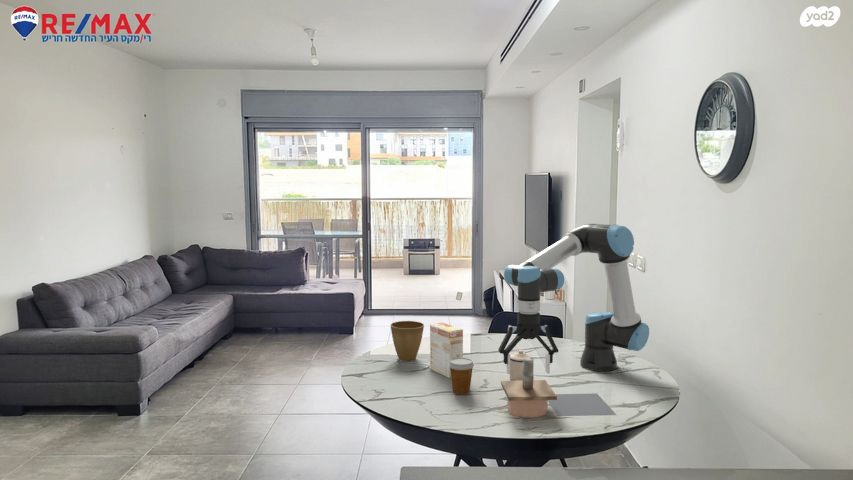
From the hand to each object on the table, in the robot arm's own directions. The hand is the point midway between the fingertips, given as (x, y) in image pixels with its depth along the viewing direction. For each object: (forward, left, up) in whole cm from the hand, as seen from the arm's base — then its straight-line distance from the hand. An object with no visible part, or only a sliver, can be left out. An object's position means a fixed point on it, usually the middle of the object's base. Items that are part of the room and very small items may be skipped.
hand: (527, 372), depth 201 cm
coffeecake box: (+25, -43, -14) cm, 52 cm away
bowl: (0, 0, -14) cm, 14 cm away
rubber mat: (-19, -4, -14) cm, 24 cm away
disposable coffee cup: (+21, -20, -14) cm, 32 cm away
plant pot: (+41, -62, -14) cm, 76 cm away
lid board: (0, 0, -7) cm, 7 cm away
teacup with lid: (-4, -35, -14) cm, 38 cm away
